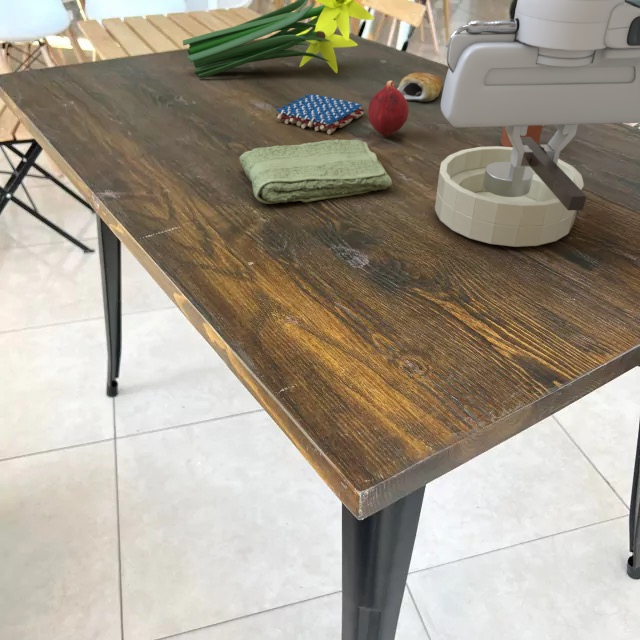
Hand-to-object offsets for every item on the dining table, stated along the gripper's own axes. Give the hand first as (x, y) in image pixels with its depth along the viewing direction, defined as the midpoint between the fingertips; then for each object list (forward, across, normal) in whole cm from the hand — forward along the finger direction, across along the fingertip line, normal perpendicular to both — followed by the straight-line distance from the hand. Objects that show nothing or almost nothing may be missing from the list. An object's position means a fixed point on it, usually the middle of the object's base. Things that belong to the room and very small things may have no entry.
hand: (533, 164), depth 66 cm
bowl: (+9, 0, +6) cm, 10 cm away
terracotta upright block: (+9, +9, +26) cm, 29 cm away
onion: (+9, -9, +32) cm, 34 cm away
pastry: (+9, 0, +50) cm, 50 cm away
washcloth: (+9, -21, +18) cm, 29 cm away
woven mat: (+9, -18, +40) cm, 44 cm away
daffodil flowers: (+9, -24, +64) cm, 68 cm away
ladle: (+5, 0, -1) cm, 5 cm away
